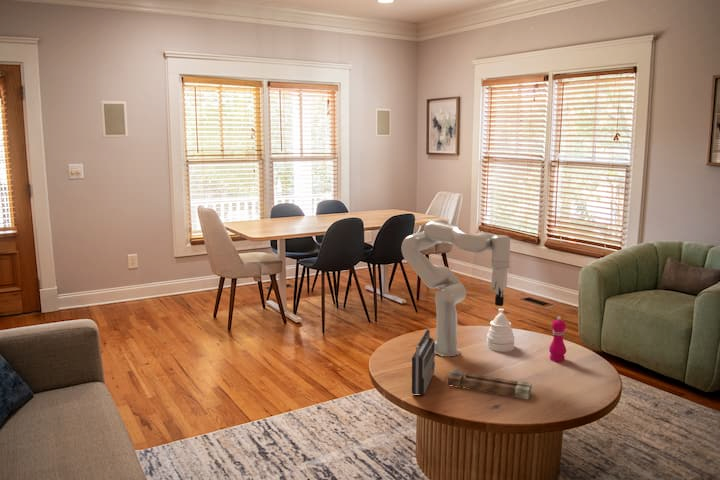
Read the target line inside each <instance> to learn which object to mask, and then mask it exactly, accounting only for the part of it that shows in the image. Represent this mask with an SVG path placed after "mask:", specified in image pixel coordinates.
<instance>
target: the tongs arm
mask: <svg viewBox="0 0 720 480" xmlns="http://www.w3.org/2000/svg"><path fill="white" fill-rule="evenodd" d="M464 377H466V378H472V379H478V380H484V381H490V382H496V383H502V384H508V385H514V386H517V385H520V386H525V387H530V395H531V394H532V388H533V383H532V382H528V381H522V380H518V381H517V380H511V379H506V378H500V377H493V376H487V375H482V374H481V375H480V374H476V373H471V372H466V374H464Z"/></svg>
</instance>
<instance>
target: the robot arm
mask: <svg viewBox="0 0 720 480" xmlns="http://www.w3.org/2000/svg"><path fill="white" fill-rule="evenodd" d="M439 242H441V243H445V244H449V245H454V247H456V248H458V249H460V250H463V251H467V252H471V253H476V254H479V253H484V252H486V251H490V250H491V268H492V273H491V282H490V283H491V284H490V290H491V291H492V292H493V291H494V290H495V294H494V295H495V297H494V298H495V299H494V306H496V307H497V306H498V307H503V306H504V299H505V298H504V297H505V296H504V292H505V289H506V288H507V284H508V270H509V269H510V263H511V262H510V261H511V260H510V256H511V254H510V253H511V238H510V236H509V235H506V234H505V235H504V234H495V233H493V232H483V233H480V234H470V233H468V232H467V233H466V232H463V231H462V229H461V228H460V226H458V225H454V224H451V223H449V221H448V220H446V219H442V218H439V219H434V220H431V221H429V222H427V223H426V224H425V225H424V227H423V231H420V232H417V233H412V234H410V235H407V236H406V237H405V238H404V239H403V240H402V243H401V253H402V257H403V259H404V260H405V261H406V262H407V264H408V265H409V266H410V267H411V268H412V269H413V270H414V272H415V273H416V274H417V275H418V277H419V278H420V280H421V281H422V282H423V283H424V285H425V286H427V288H429V289H438V288H439V289H438V290H437V291H436V293H435V295H434V303H435V308H436V309H435V310H436V312H435V313H436V331H435V332H436V336H435V337H436V339H435V353H437V354H439V355H443V356H453V357H457V356H459V355H460V353H461V349H460V348H458V311H457V308H456V305H457V304H459V303H461V302H463V301H465V299H466V297H467V290H466V288H465V286H464V284H463V283H462V282H461V281H460V279H459V278H458V277H457V276H456V274H455V273H454V272H453V271H452V270H451V269H450V267H447V266H445V265H443V264H441V265H436V266H435V265H434V264H433V263H432V262H431V260H430V259H429V258H428V257H427V256H425V254H423V253H422V252H421V251H424V250H428V249H430V248H432V247H433V246H435V245H436V244H437V243H439ZM440 287H441V288H440ZM456 355H457V356H456Z"/></svg>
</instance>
